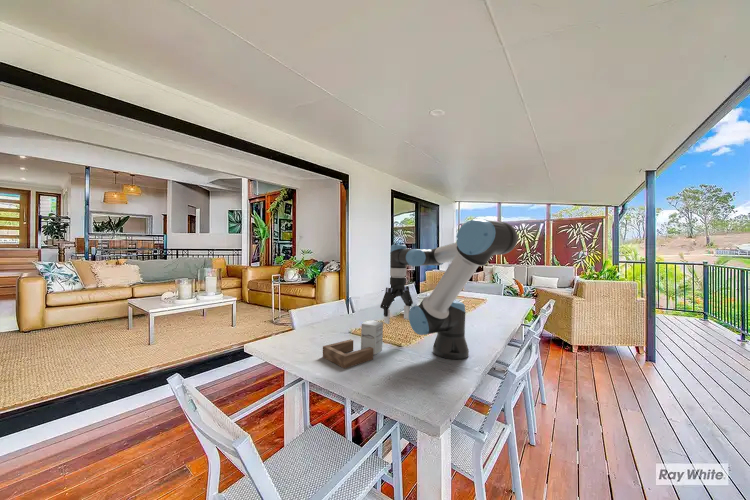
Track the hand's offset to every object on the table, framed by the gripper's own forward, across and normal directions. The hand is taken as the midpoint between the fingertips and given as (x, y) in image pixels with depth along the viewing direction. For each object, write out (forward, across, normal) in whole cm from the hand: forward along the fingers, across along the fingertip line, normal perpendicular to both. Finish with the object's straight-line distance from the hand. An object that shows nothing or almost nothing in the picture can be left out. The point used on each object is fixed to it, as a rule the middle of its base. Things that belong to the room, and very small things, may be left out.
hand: (396, 321), depth 139 cm
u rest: (+11, +29, 0) cm, 31 cm away
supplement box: (+11, +16, 0) cm, 20 cm away
